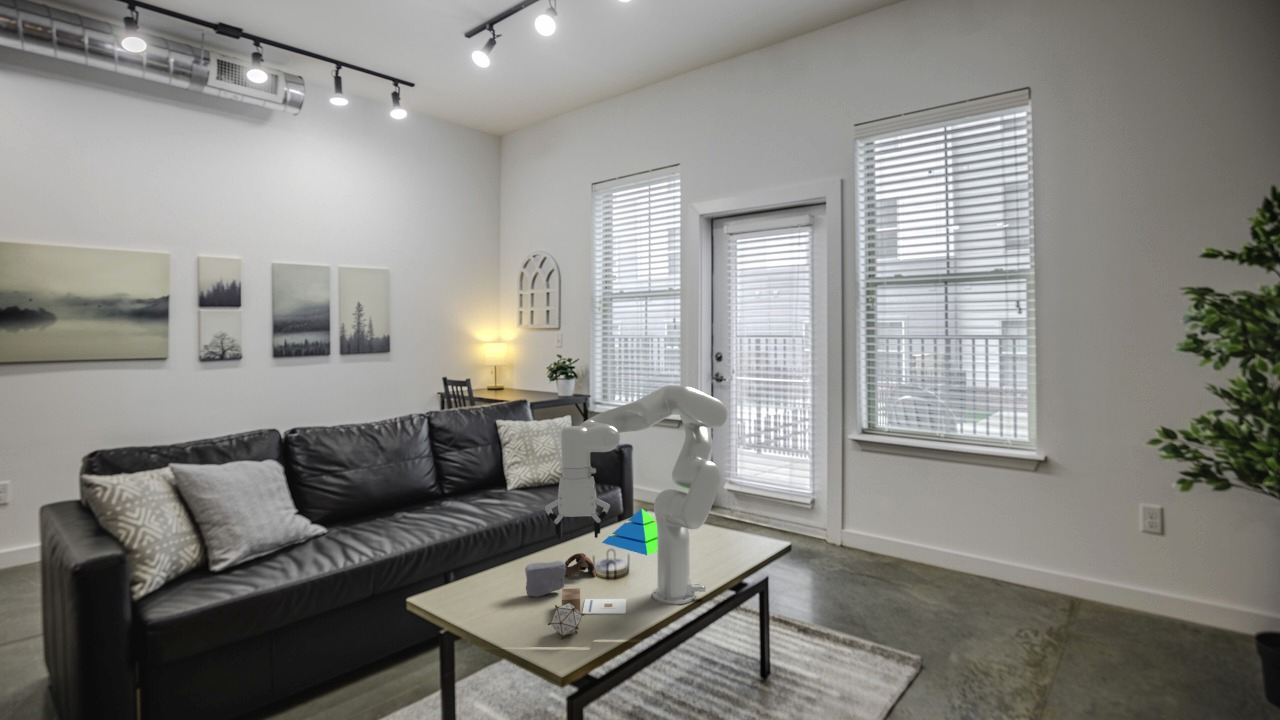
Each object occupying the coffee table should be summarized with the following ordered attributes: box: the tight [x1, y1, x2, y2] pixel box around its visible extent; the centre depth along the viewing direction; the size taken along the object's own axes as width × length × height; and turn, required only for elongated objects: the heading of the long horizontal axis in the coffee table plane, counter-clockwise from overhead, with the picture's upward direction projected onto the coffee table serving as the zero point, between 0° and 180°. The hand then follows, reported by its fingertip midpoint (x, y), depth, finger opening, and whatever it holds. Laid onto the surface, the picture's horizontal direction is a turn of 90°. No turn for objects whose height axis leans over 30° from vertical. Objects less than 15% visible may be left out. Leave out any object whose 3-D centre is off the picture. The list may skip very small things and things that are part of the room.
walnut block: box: [561, 587, 581, 613], centre depth 175 cm, size 5×5×8 cm
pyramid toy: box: [601, 508, 658, 556], centre depth 237 cm, size 25×25×14 cm
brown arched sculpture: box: [564, 552, 597, 578], centre depth 203 cm, size 12×9×8 cm
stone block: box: [524, 560, 566, 598], centre depth 186 cm, size 12×5×10 cm, turn 105°
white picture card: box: [581, 598, 627, 615], centre depth 178 cm, size 12×10×1 cm
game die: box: [546, 600, 586, 640], centre depth 160 cm, size 9×8×10 cm
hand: (578, 536), depth 167 cm, fingers open, 9 cm apart
